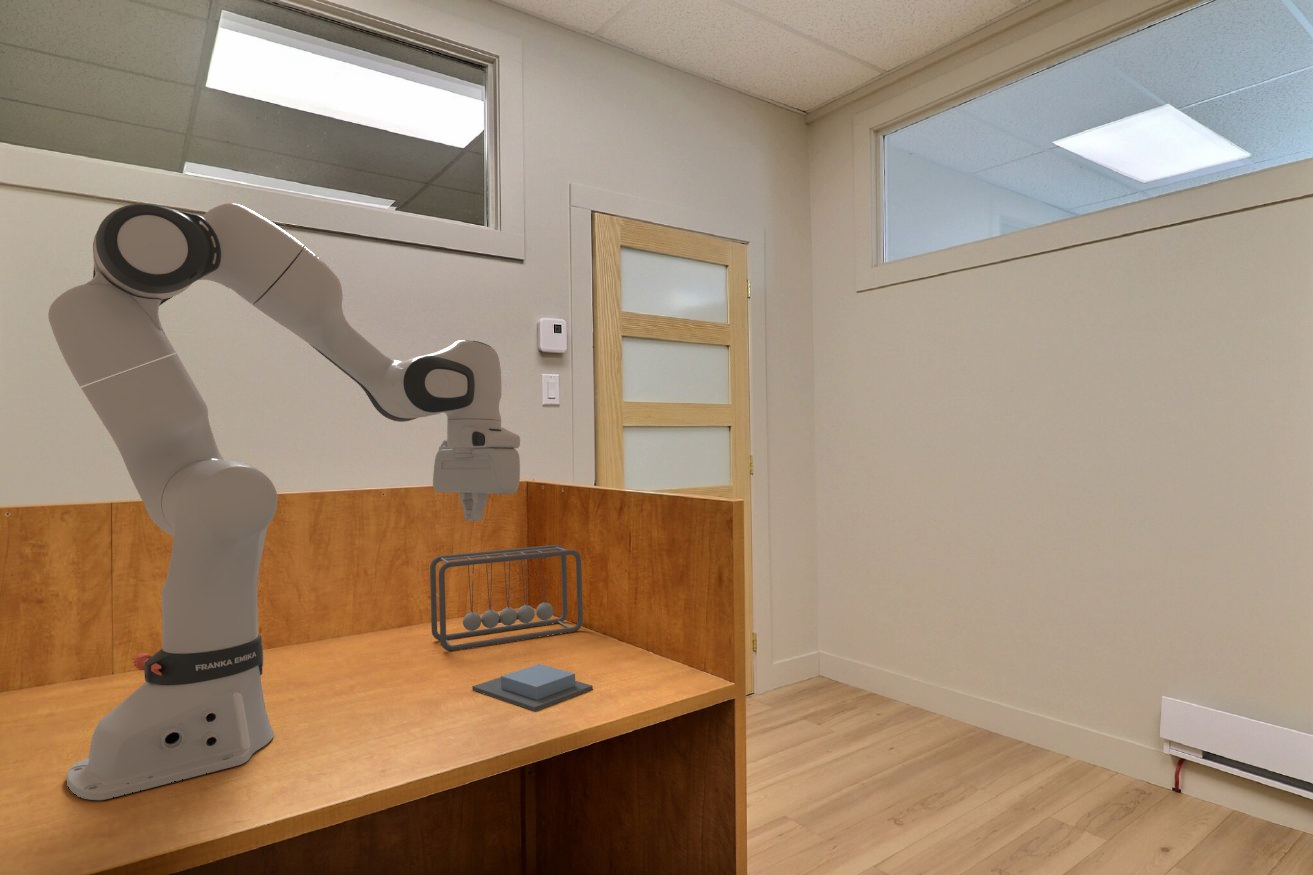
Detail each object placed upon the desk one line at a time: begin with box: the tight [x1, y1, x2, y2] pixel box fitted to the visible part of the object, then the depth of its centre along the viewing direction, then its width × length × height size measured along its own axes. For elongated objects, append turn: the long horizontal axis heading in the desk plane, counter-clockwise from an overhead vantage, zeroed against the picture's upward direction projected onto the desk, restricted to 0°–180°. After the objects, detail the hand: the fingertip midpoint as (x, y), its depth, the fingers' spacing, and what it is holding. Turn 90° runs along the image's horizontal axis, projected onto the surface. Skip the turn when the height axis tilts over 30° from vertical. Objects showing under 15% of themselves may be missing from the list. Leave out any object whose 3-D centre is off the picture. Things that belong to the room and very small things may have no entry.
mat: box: [471, 676, 594, 712], centre depth 116 cm, size 12×16×1 cm
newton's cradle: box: [429, 544, 584, 652], centre depth 151 cm, size 30×10×18 cm, turn 118°
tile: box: [500, 663, 576, 700], centre depth 115 cm, size 2×8×9 cm
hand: (473, 520), depth 119 cm, fingers closed
